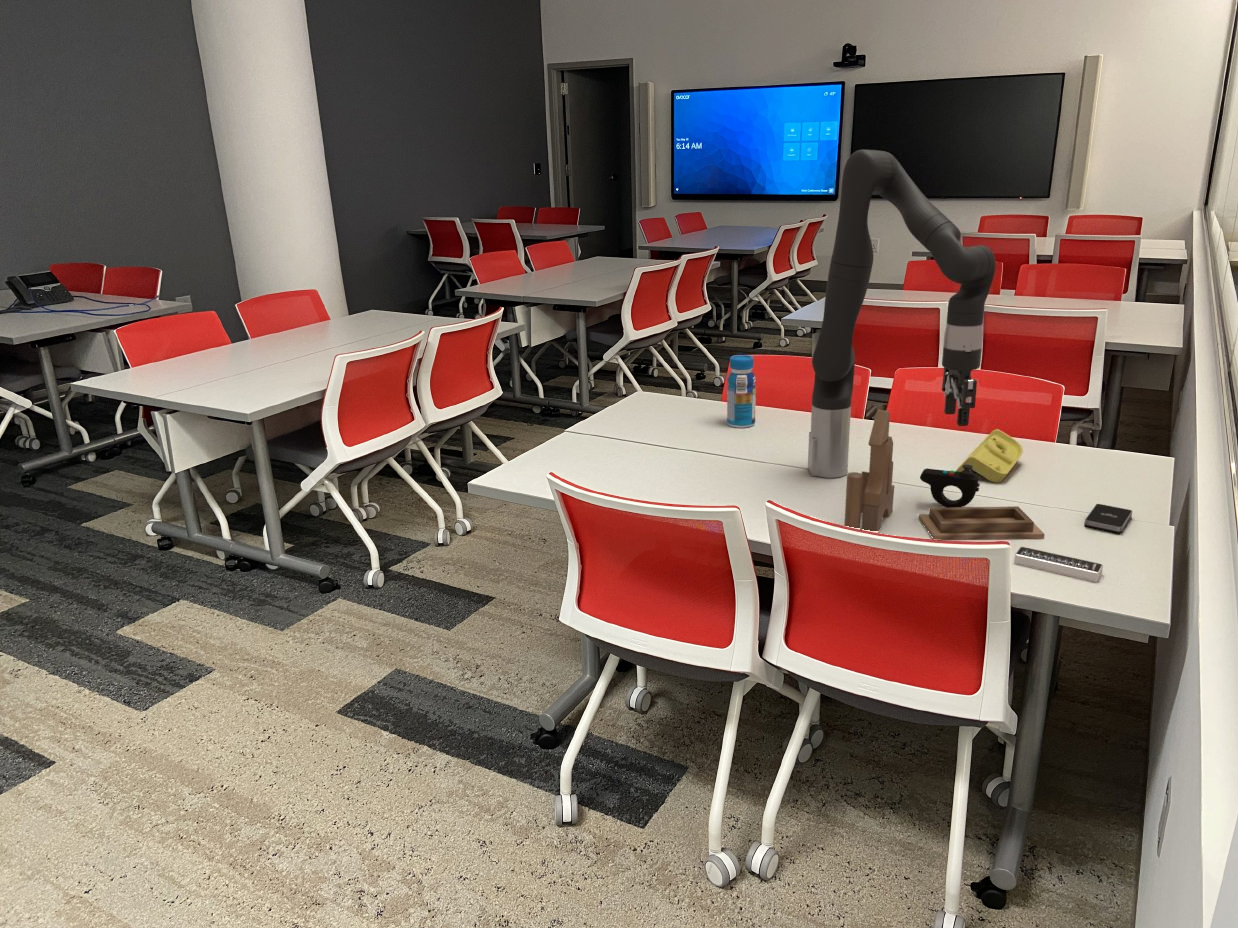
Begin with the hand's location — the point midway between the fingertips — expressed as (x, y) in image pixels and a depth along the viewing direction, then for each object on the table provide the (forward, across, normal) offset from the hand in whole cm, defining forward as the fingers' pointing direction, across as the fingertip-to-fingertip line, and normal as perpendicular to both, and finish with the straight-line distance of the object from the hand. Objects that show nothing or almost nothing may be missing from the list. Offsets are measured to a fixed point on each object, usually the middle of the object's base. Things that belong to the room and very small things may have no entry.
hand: (955, 419), depth 189 cm
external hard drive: (+21, +10, +30) cm, 38 cm away
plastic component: (+20, -23, +17) cm, 35 cm away
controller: (+20, 0, 0) cm, 20 cm away
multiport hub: (+21, +31, +11) cm, 39 cm away
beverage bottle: (+20, -64, -40) cm, 78 cm away
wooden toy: (+20, +8, -19) cm, 29 cm away
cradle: (+20, +12, +3) cm, 24 cm away
